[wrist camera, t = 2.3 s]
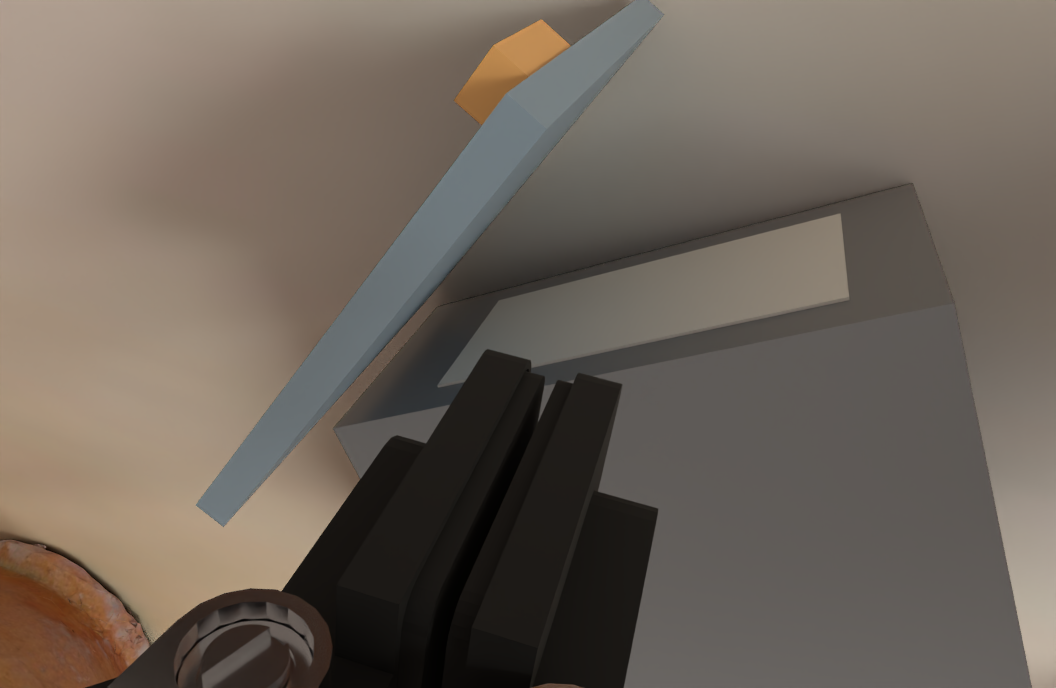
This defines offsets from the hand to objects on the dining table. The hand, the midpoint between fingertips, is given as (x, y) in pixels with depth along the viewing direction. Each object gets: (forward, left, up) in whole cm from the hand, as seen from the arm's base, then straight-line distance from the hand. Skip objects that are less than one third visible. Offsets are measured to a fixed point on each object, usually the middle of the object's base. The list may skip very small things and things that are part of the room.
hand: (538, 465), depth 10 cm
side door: (+6, -1, -17) cm, 18 cm away
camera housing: (+4, +10, -17) cm, 20 cm away
